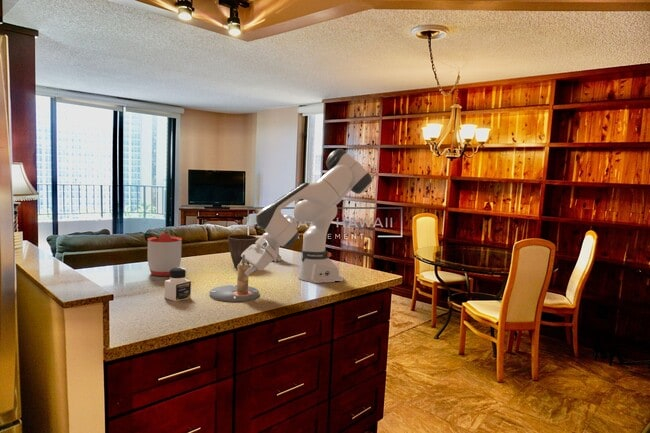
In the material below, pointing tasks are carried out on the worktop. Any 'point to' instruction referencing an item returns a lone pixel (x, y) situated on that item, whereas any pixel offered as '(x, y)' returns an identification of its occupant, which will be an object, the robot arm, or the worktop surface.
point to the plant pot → (239, 246)
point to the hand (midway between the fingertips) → (241, 271)
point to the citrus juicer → (164, 254)
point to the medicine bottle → (177, 285)
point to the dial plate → (232, 294)
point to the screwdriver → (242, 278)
